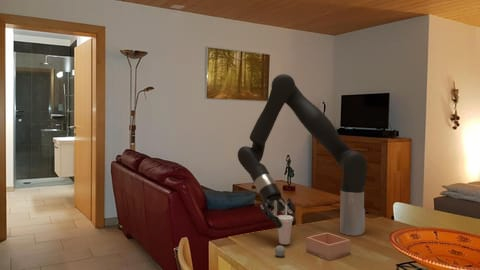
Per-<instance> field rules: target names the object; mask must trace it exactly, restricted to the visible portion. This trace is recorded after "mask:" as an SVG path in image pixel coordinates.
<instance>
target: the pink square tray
mask: <svg viewBox="0 0 480 270" xmlns="http://www.w3.org/2000/svg"><path fill="white" fill-rule="evenodd" d="M351 242H352V240H351V239H350V238H345V237H343V236H340V235H337V234H333V233H330V232H324V233H323V232H322V233H319V234H315V235H310V236H308V237H306V243H305V245H306V246H305V247H306V249H305V250H306V252H307V253H310V254H312V255H315V256H317V257H320V258H322V259H324V260H327V261H332V260H336V259H339V258H342V257H345V256H349V255H351V248H352V247H351V246H352V245H351V244H352V243H351Z"/></svg>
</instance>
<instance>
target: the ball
mask: <svg viewBox="0 0 480 270" xmlns="http://www.w3.org/2000/svg"><path fill="white" fill-rule="evenodd" d="M274 253H275V255H276V256H278V257H283V256H285V254H286V248H285V247H284V246H283V245H282V244H280V245H277V246H276V247H275V248H274Z"/></svg>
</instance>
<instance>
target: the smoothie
mask: <svg viewBox="0 0 480 270" xmlns="http://www.w3.org/2000/svg"><path fill="white" fill-rule="evenodd" d="M284 210H285V214H279V215H278V214H277V217H278V218H279V220H280V222H281V223H282V227H281V228H277V233H278V241H279V244H280V245H289V244H290V241H291V233H292V227H293V225H292V221H293V217H292V216H290V215H287V212H288V211H287V205H285V207H284Z"/></svg>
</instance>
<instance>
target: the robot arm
mask: <svg viewBox="0 0 480 270" xmlns="http://www.w3.org/2000/svg"><path fill="white" fill-rule="evenodd" d="M268 96H269V97H268V99H267V101H266V104H265V106H264V108H263V110H262V111H261V113H260V115H259V117H258V118H257V119H256V122H255V124H254V126H253V129H252V130H251V132H250V136H249V140H250V141H251V142H252V145H251V147H250V146H246V145H245V146H241V147H239V149H238V151H237V161H239V163H240V165H241V166H242V168H243V169H244V170H245V171H246V173H248V174H249V176H250V178H251V180H252V182H253V183H254V185H255V189H256V190H257V192H258V194H259V196H260V198H261V200H262V201H263V202H262V203H261V204H260V205H259V209H260V210H261V212H262V214H263V215H264V216H265V218H266V219H267V220H271V221H273V223H274V225H275V227H276V228H277V229H278V228H281V227H282V223H281V222H280V220H279V218H278V217H277V216H278V212H279V213H280V212H281V213H282V215H285V205H287V215H290V216H292V217H293V221H292V226H295V225H296V224H297V220H296V218H295V216H294V214H295V212H296V208H295V206H294V204H293V202H292V200H291V198H289V197H288V198H287V199H284V198H283V197H282V192H281V190H280V189H279V187H278V185H277V184H276V182H275V180H274V178H273V177H272V176H271V174H270V172H269V171H268V169H267V167H266V166H265V165H264V164H263V163H261V161H262V159H263V156H264V153H265V147H266V143H267V141H268V139H269V136H270V134H271V133H272V130H273V128H274V125H275V123H276V121H277V118H278V116H279V114H280V112H281V110H282V109H283V107H284V105H285V104H286V106H288V107H289V108H290V109H291V110H292V112H293V113H294V114H295V116H296V117H297V119H298V120H299V122H300V123H301V124H302V126H303V127H304V128H305V129H306V131H308V132H309V134H310V135H311V136H312V137H313V138H314V139H315V140H316V142H319V144H320V145H321V146H323V147H324V148H325V149H326V150H327V152H329V154H331V156H332V158H333V159H334V160H335V161H336V162H337V164H338V166H339V167H340V168H341V170H342V171H343V177H342V182H341V183H340V201H339V202H340V205H339V207H340V209H339V233H341V234H343V235H347V236H362V235H363V234H364V233H365V232H366V230H365V229H366V228H365V226H366V209H365V187H366V183H367V175H368V173H367V170H368V163H367V158H366V156H365V155H364V154H362V153H360V152H357V151H355V150H353V149H352V148H351V147H350V146H349V145H348V144H347V143H346V142H345V141H344V140H343V138H341V136H340V134H339V132H338V130H337V129H336V127H335V126H334V124H333V123H332V122H331V120H330V119H329V118H328V117H327V116H326V115H325V113H323V111H321V109H319V107H317V106H316V105H315V104H314V103H313V102H311V100H309V99H308V98H307V97H306V96H304V94H303V93H302V92H301V91H300V89H299V88H298V86H297V85H296V82H295V80H294V78H293V77H292V76H291V75H289V74H285V73H283V74H282V73H281V74H279V75H276V76H275V77H274V78H273V79H272V82H271V89H270V93H269V95H268Z"/></svg>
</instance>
